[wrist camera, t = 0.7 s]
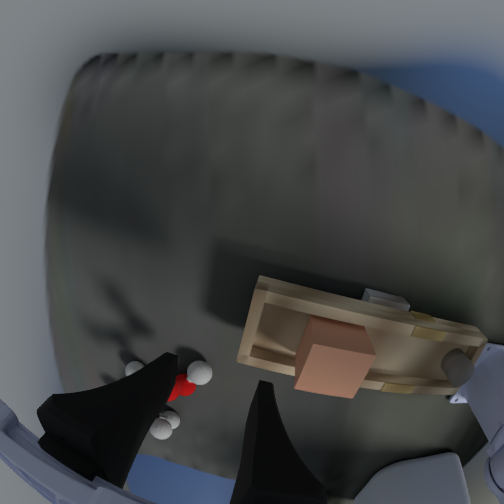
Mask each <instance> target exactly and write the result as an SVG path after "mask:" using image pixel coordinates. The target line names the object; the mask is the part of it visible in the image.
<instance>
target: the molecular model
mask: <svg viewBox="0 0 504 504" xmlns="http://www.w3.org/2000/svg"><path fill="white" fill-rule="evenodd" d="M143 367H144V365H143V364H142V363H140V362H138V361H132V362H130V363H128V364H127V366H126V368H125V374H126V376H128V375H130V374H132V373H134V372H136V371H138V370H139V369H141V368H143ZM211 377H212V369H211V367H210V366H209V364H207V363H206V362H204V361H194V362H193V363H191V364H190V365H189V367H188V369H187V374H179V375H178V376H176V384H175V386H174V388H173V391H172V393H171V395H170V397H169V399H168V401H172V400H175V399H176V398H177V397H178V396H179V395H182V396H188V395H191V394H192V393H193V392H194V391H195V389H196V384H198V385H203V384H206V383H207V382H209V380H210V379H211ZM179 423H180V418H179V416H178V415H177V413H175V412H173V411H165V412H164V413H163V414H162V415H158V416H157V418H156V420H155V421H154V423H153V424H152V426H151V427H150V432H151V434H152V435H153V436H154V437H156V438H158V439H167V438H168V437H170V435H171V434H172V429H175V428H176V427H178V425H179Z"/></svg>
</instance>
